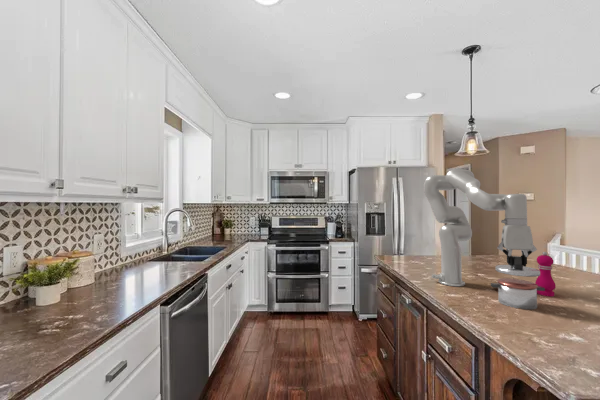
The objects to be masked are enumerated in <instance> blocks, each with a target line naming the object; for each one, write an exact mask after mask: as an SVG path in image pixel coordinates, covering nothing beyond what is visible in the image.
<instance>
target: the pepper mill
mask: <svg viewBox="0 0 600 400" xmlns="http://www.w3.org/2000/svg"><path fill="white" fill-rule="evenodd" d="M536 263H537V265H538V270H540V276H537V277H536V279H535V282H534V283H535V284H537V285H538V286H542V287H544V288H545V291H538V290H537V295H540V296H543V297H551V298H552V297H555V291H554V290H555V289H556V283H555V281H554V278H553V276H552V270H553V266H552V265H553V264H554V258H553V257H551V256H549V255H548V252H547V251H543V252H542V254H540V255H538V256H537V257H536Z"/></svg>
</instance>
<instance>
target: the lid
mask: <svg viewBox="0 0 600 400" xmlns="http://www.w3.org/2000/svg"><path fill="white" fill-rule="evenodd" d="M512 257H513V266H510V265H508V264H498V265H497V264H496V265H495V271H496V272H497V273H500V274H506V275H510V276H517V277H529V278H530V277H533V278H534V277H536V278H537V277H538V276H540V270H539V268H538V269H537V268H534V267H530V266H523V257H521V256H518V255H512Z"/></svg>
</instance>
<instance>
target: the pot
mask: <svg viewBox="0 0 600 400" xmlns="http://www.w3.org/2000/svg"><path fill="white" fill-rule="evenodd" d="M490 286H491V287H492V288H495V287H497V288H498V291H497V293H498V300H497V301H498V302H499V303H500V304H501V305H504V306H507V307H509V306H510V308H513V307H514V309H518V308H521V309H520V310H536V309H538V294H537V290H538V291H545V288H544V287H542V286H538V285H537V284H535V282H532V281H529V280H525V279H517V278H514V279H513V278H505V277H503V278H498V279H497V280H496V283H495V282H490Z"/></svg>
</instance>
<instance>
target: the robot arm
mask: <svg viewBox="0 0 600 400" xmlns="http://www.w3.org/2000/svg"><path fill="white" fill-rule="evenodd" d="M480 187H481V182H480V180H479V179H478V178H476V177H475V174H474V173H473V172H472V170H469V169H465V168H453V169H450V170H448V172H447V173H446V174H445V175H441V174H437V175H430V176H428V177H426V178H425V180H424V183H423V193H424V195H425V197H426V199H427V200H428V203H429V205H430V208H431V210H432V213H433V215H434V218H435V220H436V221H437V222H438V223H440V224H445V225H442V226H441V227H440V228H439V231H438V237H439V241H440V256H441V261H440V262H441V270H440V271H441V272H440V273H439V274H433V273H432V274H431V278H432V279H436V280H438V283H440V284H441V285H445V286H449V287H463V286H465V285H466V282H465V281H464V280H462V278H463V275H462V272H463V271H462V268H463V267H462V248H461V246H460V244H459V243H460V242H467V241H469V240H471V239H472V236H473V230H472V228H471V225H470V223H469V221H468V220H469V219H468V218H467V216H466V213H465V212H464V211H463V209H462V208H460V207H458V206H454V205H451V206H450V205H449V204H448V202H447V199H446V198H445V196H444V194H442V193H441V191H452V190H457V189H458V190H459V191H461V192H463V193H464V194H465V195H466V197H467V199H468V200H469V201H470V202H471V203H472V204H473V205H475V206H476V207H478V208H479V209H482V210H484V211H489V212H490V211H491V212H493V211H497V212H498V211H501V212H502V211H504V219H501V223H502V224H504V225H503V226H502V232H501V241H500V243H499V245H498V246H497V247H496V248H497V249H498V250H500V251H501V252H503V253H504V254H505V255H506V264H507V265H510V266H513V257H512V256H513V255H512V253H513V250H516V251H517V250H518V251H521V255H520V257H523V266H525V267H527V265H528V257H529V256H530V255H532V253H534V252H536V251H537V250H538V249H537V247H536V246H535V245H534V239H533V233H532V229H531V226H529V225H528V207H527V206H528V199H527V195H526V194H523V193H508V194H505V193H488V192H486V191H484V190H483V189H481V188H480Z"/></svg>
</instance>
